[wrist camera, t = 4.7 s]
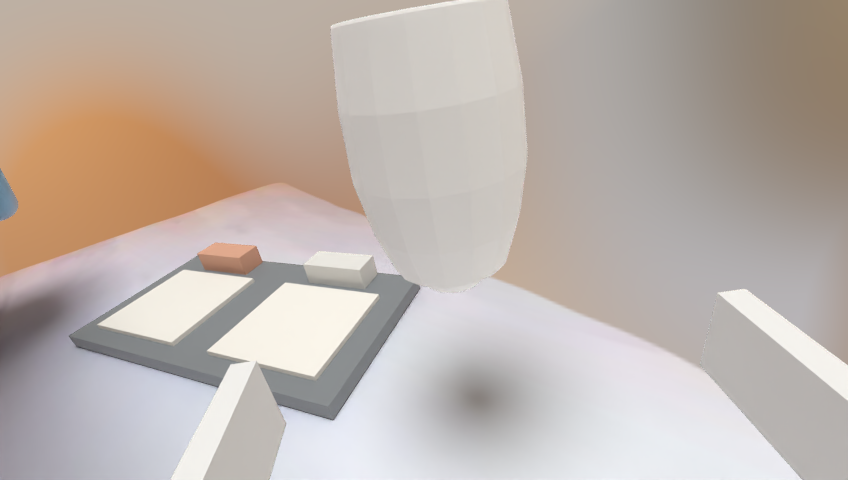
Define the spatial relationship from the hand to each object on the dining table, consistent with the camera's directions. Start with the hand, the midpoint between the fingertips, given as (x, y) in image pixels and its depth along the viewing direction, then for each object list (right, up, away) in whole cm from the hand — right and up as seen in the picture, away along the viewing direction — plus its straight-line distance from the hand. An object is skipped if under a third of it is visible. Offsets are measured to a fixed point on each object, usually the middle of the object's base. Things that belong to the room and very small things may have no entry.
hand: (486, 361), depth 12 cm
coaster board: (-18, -3, +24) cm, 30 cm away
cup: (+1, -7, +12) cm, 14 cm away
